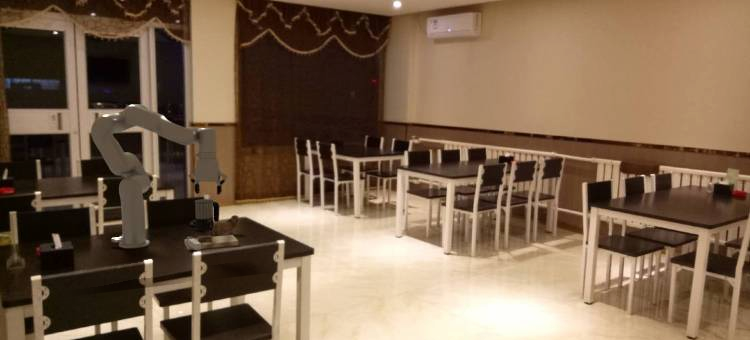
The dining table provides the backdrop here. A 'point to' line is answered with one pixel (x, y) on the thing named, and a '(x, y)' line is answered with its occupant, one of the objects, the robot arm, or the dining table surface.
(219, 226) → the lion figurine
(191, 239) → the grey lumpy rod
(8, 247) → the dining table surface
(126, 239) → the robot arm
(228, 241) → the grey tray
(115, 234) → the dining table surface
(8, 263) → the dining table surface
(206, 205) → the milk frother
